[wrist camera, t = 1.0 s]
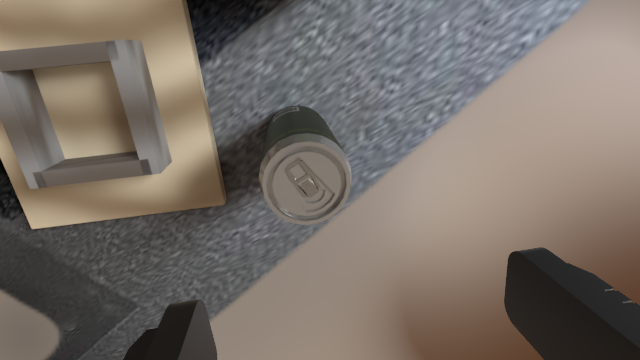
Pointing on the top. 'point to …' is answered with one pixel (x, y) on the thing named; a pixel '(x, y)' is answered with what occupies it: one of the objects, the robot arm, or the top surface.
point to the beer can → (303, 167)
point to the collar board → (104, 110)
